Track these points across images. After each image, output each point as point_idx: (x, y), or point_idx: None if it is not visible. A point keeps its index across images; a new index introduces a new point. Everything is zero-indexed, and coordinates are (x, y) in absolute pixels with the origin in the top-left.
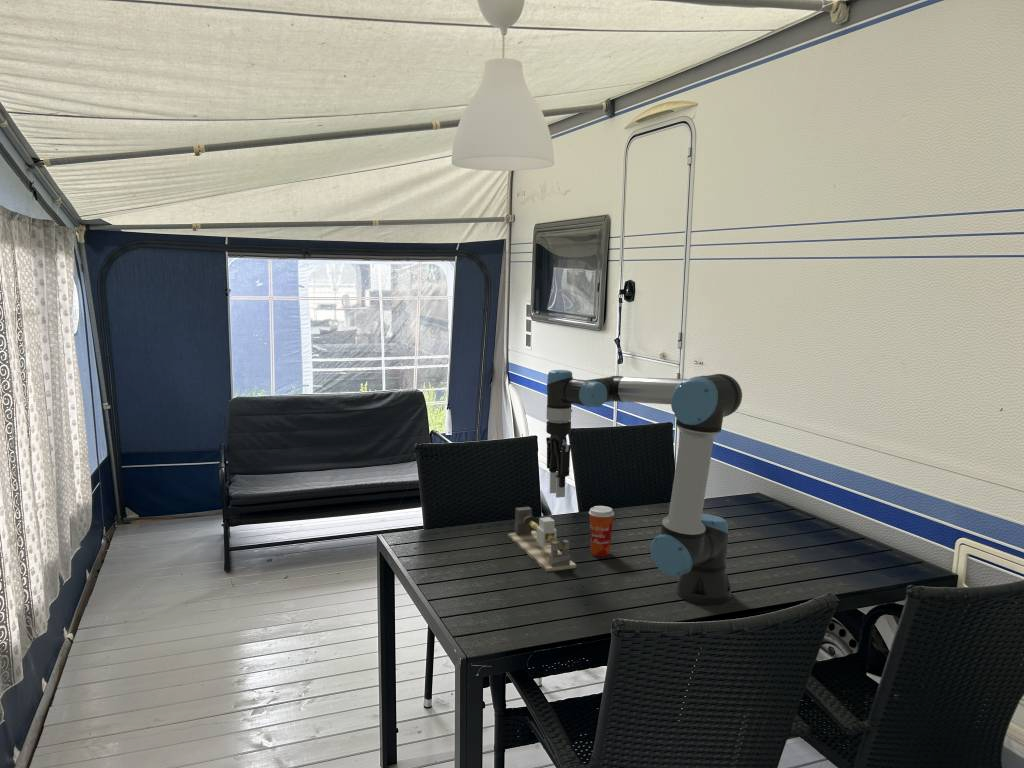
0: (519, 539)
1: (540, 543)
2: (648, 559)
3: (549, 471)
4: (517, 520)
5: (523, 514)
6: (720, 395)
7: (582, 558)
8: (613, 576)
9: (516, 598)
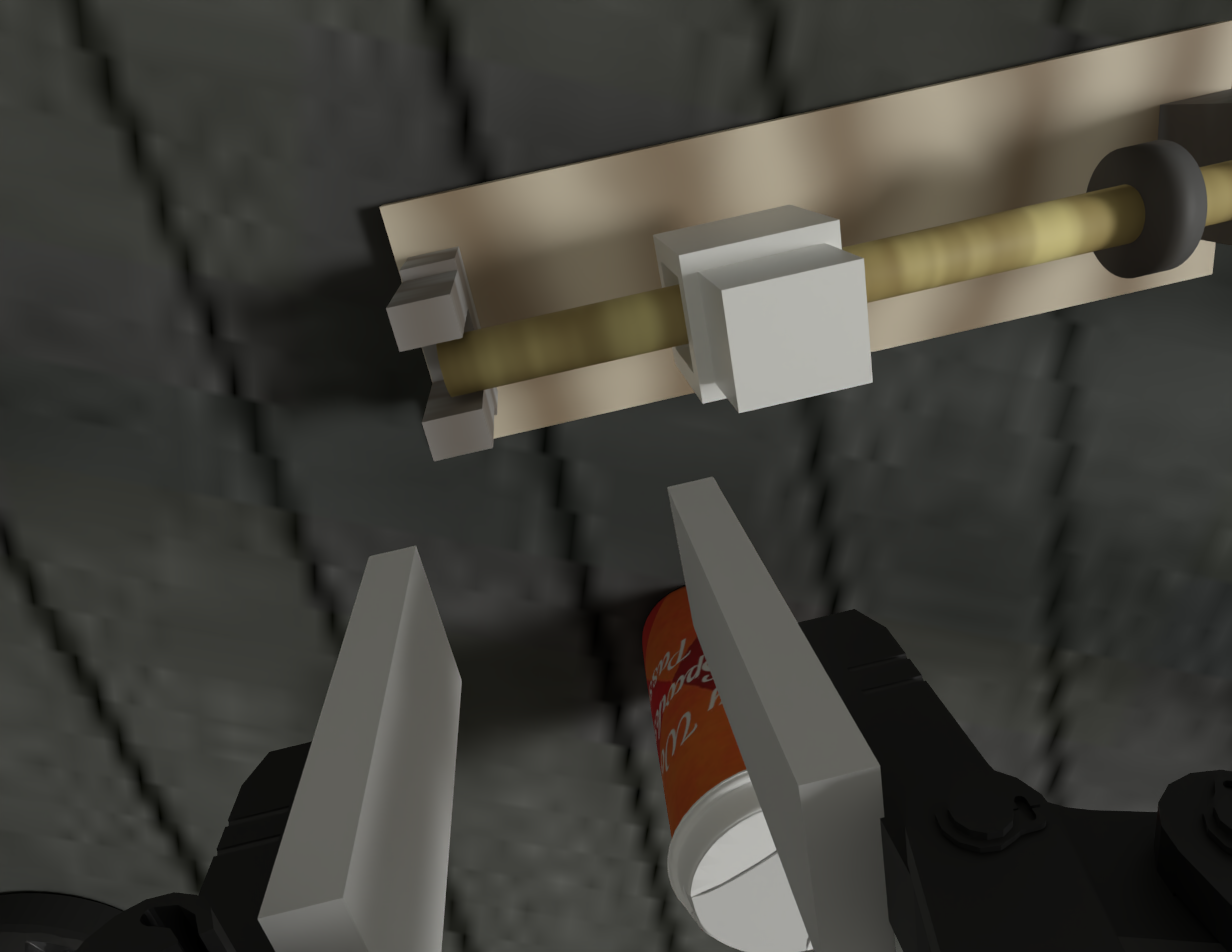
0: (1070, 100)
1: (705, 224)
2: (561, 852)
3: (971, 768)
4: None
5: None
6: None
7: (627, 512)
8: (293, 636)
9: None
